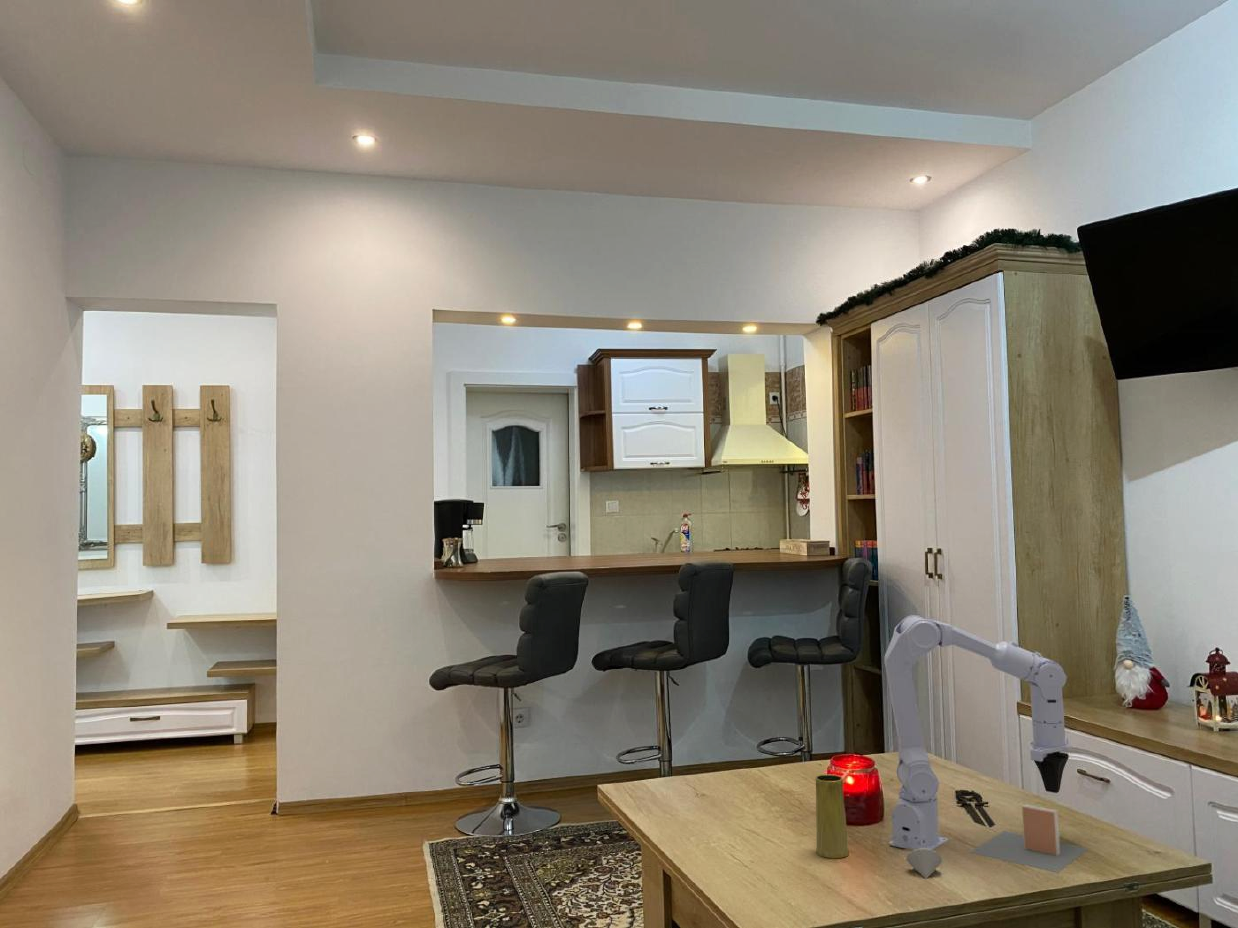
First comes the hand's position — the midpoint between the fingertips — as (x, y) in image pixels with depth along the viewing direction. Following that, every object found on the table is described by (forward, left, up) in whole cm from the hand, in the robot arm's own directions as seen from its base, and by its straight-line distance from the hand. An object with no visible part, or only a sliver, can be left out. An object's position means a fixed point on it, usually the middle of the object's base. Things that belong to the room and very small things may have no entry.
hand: (1052, 791), depth 178 cm
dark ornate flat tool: (+10, +20, -11) cm, 25 cm away
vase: (-32, +30, -10) cm, 45 cm away
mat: (-8, +2, -10) cm, 13 cm away
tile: (-7, 0, -10) cm, 12 cm away
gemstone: (-30, +12, -10) cm, 34 cm away
